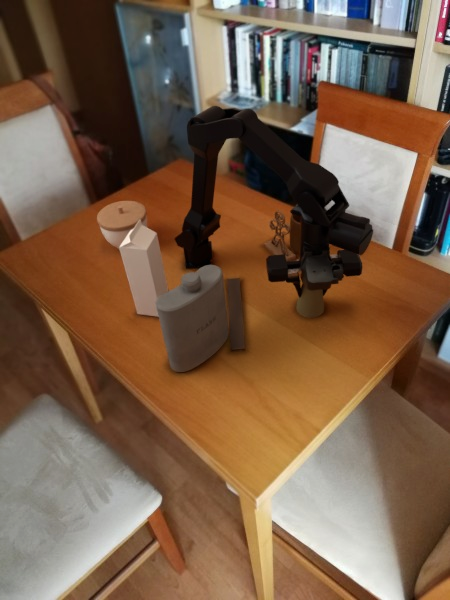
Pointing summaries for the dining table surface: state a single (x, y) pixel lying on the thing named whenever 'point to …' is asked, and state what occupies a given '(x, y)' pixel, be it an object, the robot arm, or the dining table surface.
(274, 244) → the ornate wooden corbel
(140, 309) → the milk
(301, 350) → the dining table surface
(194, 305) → the flask
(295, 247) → the mug
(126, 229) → the lidded bowl
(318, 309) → the olive pepper mill
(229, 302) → the walnut ruler
